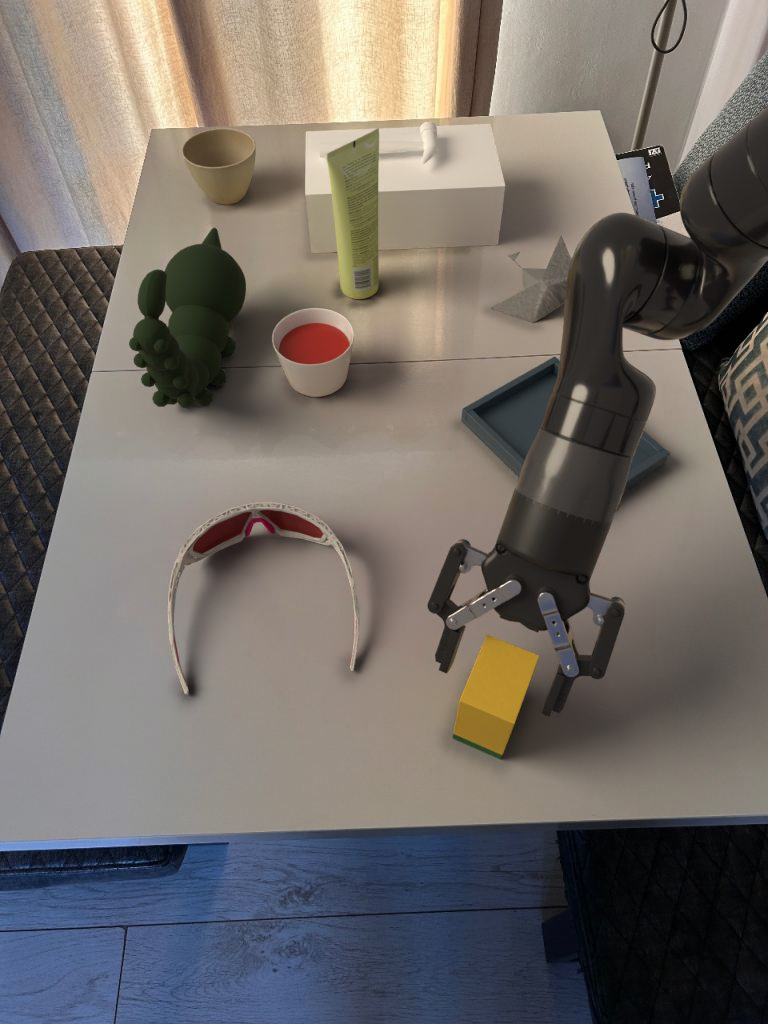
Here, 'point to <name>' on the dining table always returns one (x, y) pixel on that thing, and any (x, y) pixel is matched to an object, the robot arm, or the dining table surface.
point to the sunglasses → (239, 525)
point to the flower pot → (221, 163)
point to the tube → (356, 213)
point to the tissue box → (416, 186)
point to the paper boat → (540, 287)
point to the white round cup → (314, 350)
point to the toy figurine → (188, 323)
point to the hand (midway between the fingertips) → (495, 690)
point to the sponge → (494, 696)
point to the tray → (537, 422)
